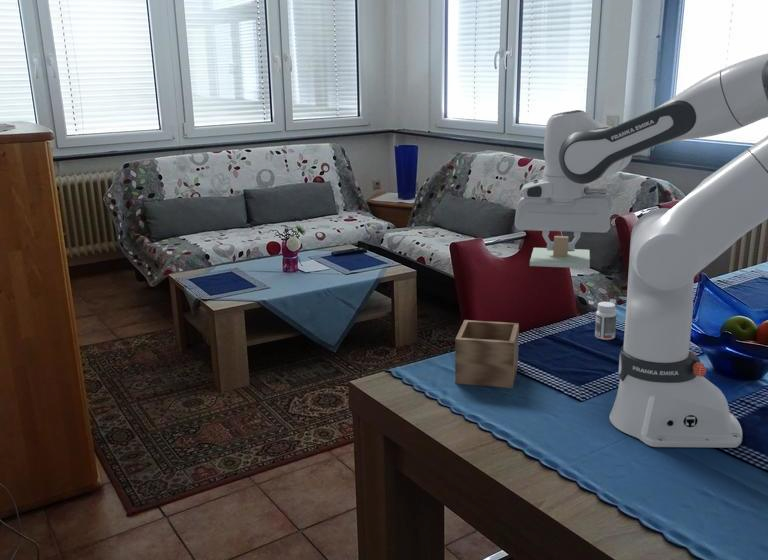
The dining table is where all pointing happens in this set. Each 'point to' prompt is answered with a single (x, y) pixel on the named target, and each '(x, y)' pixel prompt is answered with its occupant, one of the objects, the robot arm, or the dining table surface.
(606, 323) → the pill bottle
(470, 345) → the box
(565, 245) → the lid
